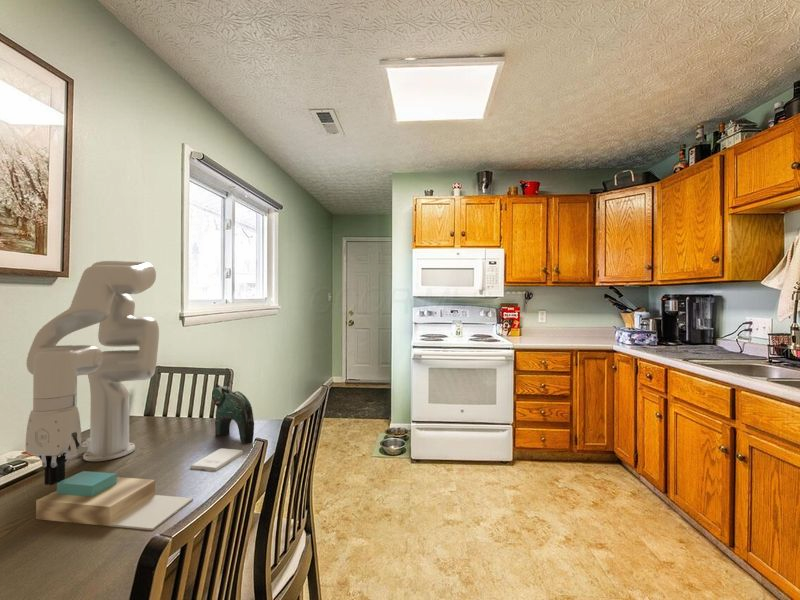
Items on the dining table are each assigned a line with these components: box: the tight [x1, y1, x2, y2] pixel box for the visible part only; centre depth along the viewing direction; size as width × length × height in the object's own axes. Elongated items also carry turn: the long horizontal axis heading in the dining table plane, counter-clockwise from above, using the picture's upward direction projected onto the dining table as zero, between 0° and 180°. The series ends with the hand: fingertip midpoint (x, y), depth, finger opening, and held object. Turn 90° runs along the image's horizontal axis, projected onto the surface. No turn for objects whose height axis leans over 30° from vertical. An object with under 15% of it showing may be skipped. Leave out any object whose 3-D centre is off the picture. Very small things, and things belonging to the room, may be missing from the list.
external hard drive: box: [189, 447, 244, 472], centre depth 110 cm, size 2×8×12 cm
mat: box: [109, 494, 194, 531], centre depth 83 cm, size 10×12×1 cm
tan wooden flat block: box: [35, 476, 156, 527], centre depth 85 cm, size 18×12×4 cm, turn 82°
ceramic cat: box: [211, 379, 255, 446], centre depth 129 cm, size 20×6×20 cm, turn 55°
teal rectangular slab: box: [56, 470, 118, 497], centre depth 86 cm, size 9×6×2 cm, turn 82°
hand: (54, 482), depth 87 cm, fingers closed
